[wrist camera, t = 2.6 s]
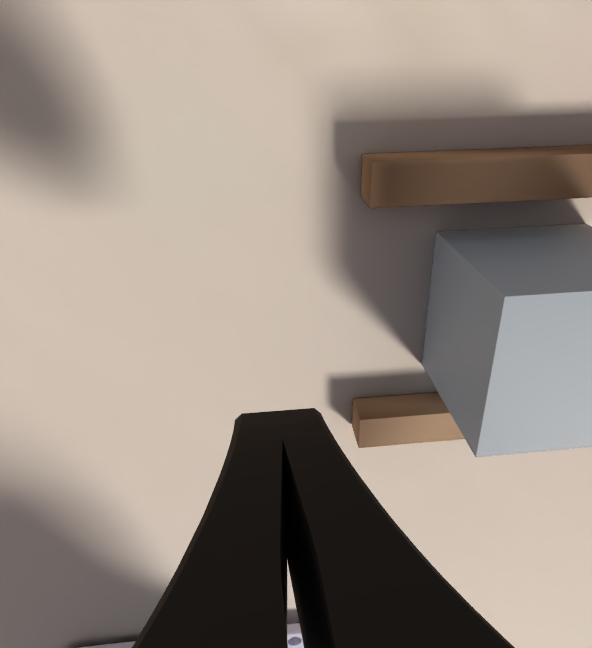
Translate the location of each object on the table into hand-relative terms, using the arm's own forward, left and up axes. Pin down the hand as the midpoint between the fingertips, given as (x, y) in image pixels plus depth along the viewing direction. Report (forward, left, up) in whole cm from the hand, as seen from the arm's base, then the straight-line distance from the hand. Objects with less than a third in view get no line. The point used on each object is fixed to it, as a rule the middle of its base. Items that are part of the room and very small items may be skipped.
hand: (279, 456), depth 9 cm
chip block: (+6, 0, -6) cm, 9 cm away
